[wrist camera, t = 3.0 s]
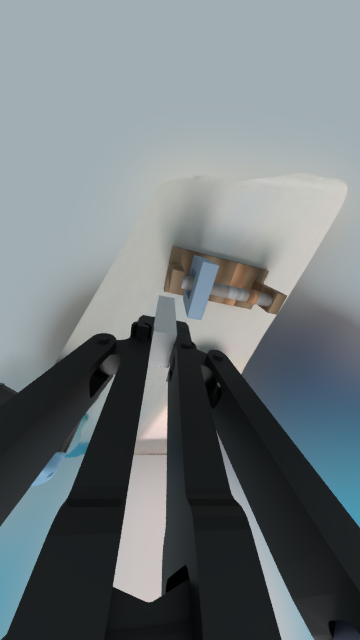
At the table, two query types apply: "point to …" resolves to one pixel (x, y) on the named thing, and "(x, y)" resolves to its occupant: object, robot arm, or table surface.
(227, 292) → the wooden rod stand
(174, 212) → the table surface
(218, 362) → the robot arm
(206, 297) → the ring
